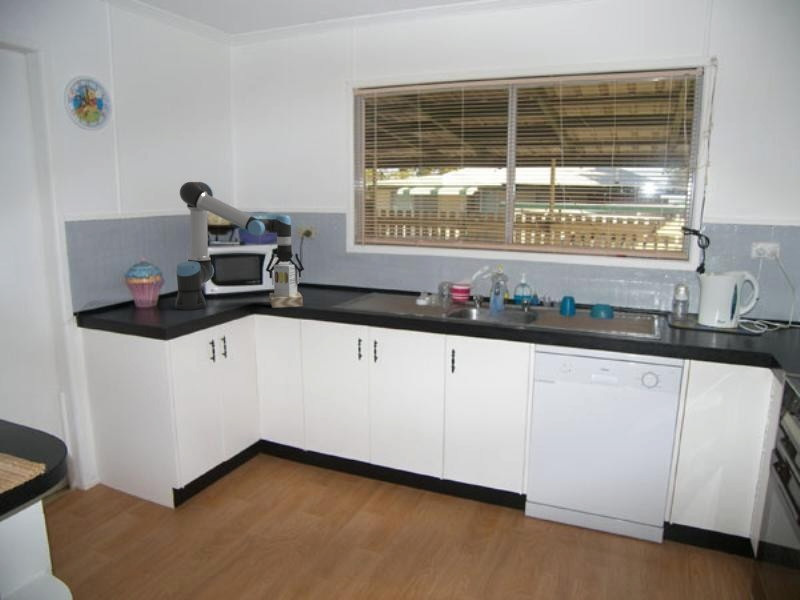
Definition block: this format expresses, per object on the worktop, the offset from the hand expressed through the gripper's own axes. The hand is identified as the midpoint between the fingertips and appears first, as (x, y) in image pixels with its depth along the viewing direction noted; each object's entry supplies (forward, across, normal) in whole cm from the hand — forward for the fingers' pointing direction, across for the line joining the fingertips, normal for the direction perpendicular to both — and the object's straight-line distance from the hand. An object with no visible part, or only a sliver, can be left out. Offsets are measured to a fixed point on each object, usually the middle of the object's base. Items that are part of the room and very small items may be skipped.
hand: (285, 283), depth 305 cm
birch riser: (+11, 0, 0) cm, 11 cm away
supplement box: (+6, 0, 0) cm, 6 cm away
